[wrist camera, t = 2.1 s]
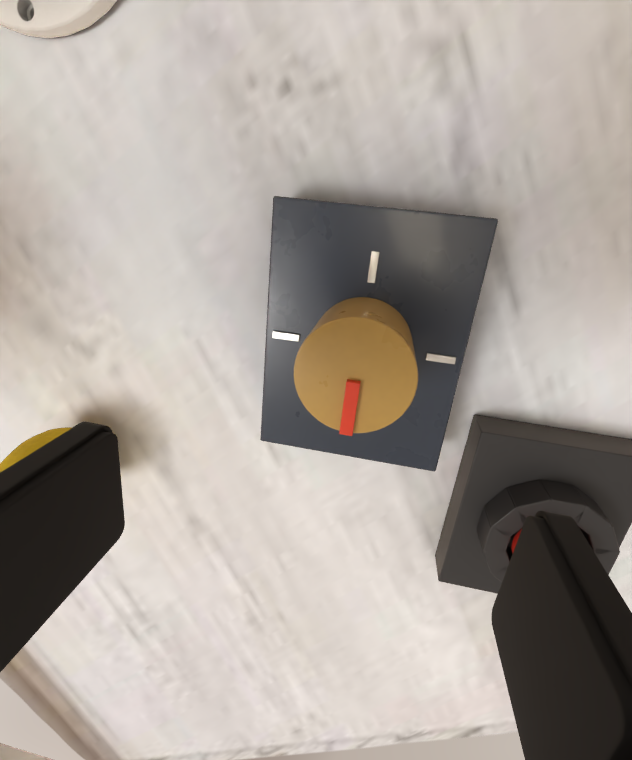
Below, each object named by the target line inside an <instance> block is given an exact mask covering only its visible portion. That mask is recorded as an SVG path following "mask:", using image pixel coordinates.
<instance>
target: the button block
mask: <svg viewBox="0 0 632 760" xmlns="http://www.w3.org/2000/svg"><path fill="white" fill-rule="evenodd" d="M538 511H546V512H551V513H557V514H562V515H567V516H570V517H572V518H573V519H574V520H575V522H576V523H577V525H578V527H579V528H580V530H581V532H582V533H583V535H584V536H585V538H586V540H587V541H588V543H589V545H590V546H591V548H592V550H593V551H594V553H595V554H596V556H597V558H598V559H599V561H600V563H601V564H602V566H603V567H604V569H605V571H606V572H607V574H608V575H609V573H610V571H611V569H612V567H613V565H614V563H615V561H616V559H617V557H618V555H619V553H620V551H619V547H620V545H621V543H622V541H623V539H624V537H625V535H626V533H627V531H628V529H629V527H630V525H631V523H632V440H630V439H624V438H618V437H611V436H605V435H599V434H592V433H586V432H580V431H574V430H567V429H561V428H555V427H549V426H542V425H536V424H530V423H524V422H517V421H511V420H505V419H498V418H492V417H486V416H480V415H474V417H473V421H472V424H471V428H470V431H469V435H468V439H467V442H466V446H465V450H464V453H463V457H462V460H461V464H460V468H459V471H458V475H457V479H456V482H455V486H454V489H453V493H452V497H451V500H450V504H449V508H448V511H447V515H446V518H445V522H444V526H443V529H442V533H441V537H440V540H439V544H438V547H437V551H436V555H435V557H436V565H437V572H438V580H439V581H441V582H446V583H450V584H455V585H460V586H465V587H469V588H474V589H479V590H484V591H488V592H493V593H498V592H499V589H500V587H501V584H502V581H503V579H504V576H505V573H506V571H507V568H508V565H509V562H510V560H511V557H512V548H511V547H512V541H513V539H514V536H515V535H516V534H517V532H518V531H519V530H521V529H522V527H523V525H524V522H525V520H526V518H527V517H528V516H535V515H536V513H537V512H538Z"/></svg>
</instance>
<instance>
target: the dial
mask: <svg viewBox="0 0 632 760" xmlns="http://www.w3.org/2000/svg"><path fill="white" fill-rule="evenodd" d="M294 383H295V387H296V391H297V393H298V396H299V398H300V400H301V402H302V403H303V405H304V406H305V408H306V409H307V410H308V411H309V412H310V413H311V415H312V416H314V417H315V418H316V419H317V420H318V421H320V422H321V423H323V424H325V425H326V426H329V427H331V428H333V429H336V430H339V434H342V435H348V436H352V435H353V433H367V432H372V431H377V430H379V429H382V428H384V427H386V426H388V425H390V424H392V423H393V422H395V421H396V420H397V419H398V418H400V417H401V416H402V415H403V414H404V413H405V411H406V410H407V409H408V407H409V406H410V404H411V403H412V401H413V398H414V396H415V393H416V390H417V385H418V368H417V362H416V357H415V351H414V346H413V340H412V335H411V332H410V329H409V327H408V324H407V322H406V321H405V319H404V318H403V317H402V315H401V314H400V313H399V312H398V311H397V310H396V309H395V308H393V307H392V306H390V305H389V304H387V303H385V302H383V301H380V300H377V299H374V298H368V297H356V298H350V299H347V300H344V301H341V302H339V303H337V304H335V305H334V306H333V307H331V308H330V309H329V310H328V311H327V312H325V314H324V315H323V316H322V317H321V319H320V320H319V321H318V323H317V324H316V325H315V327H314V328H313V330H312V331H311V332H310V334H309V335H308V336H307V338H306V339H305V340H304V342H303V344H302V345H301V347H300V349H299V351H298V353H297V356H296V359H295V364H294Z"/></svg>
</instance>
